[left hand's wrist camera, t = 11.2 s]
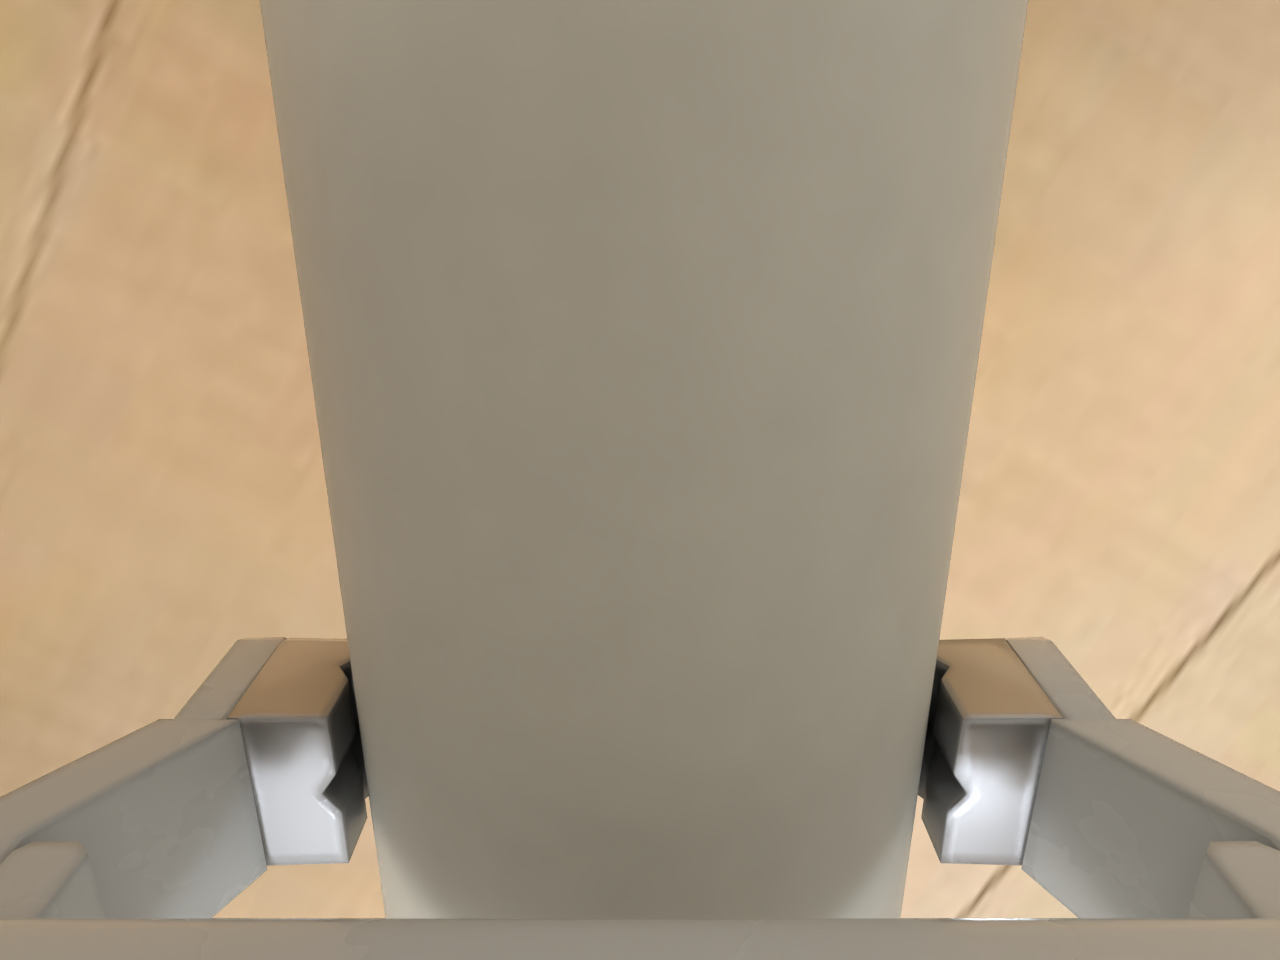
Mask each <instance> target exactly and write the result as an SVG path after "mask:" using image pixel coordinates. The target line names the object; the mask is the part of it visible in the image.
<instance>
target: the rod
mask: <svg viewBox="0 0 1280 960" xmlns="http://www.w3.org/2000/svg"><path fill="white" fill-rule="evenodd" d="M260 5H261V12H262V19H263V27H264V34H265V41H266V48H267V56H268V63H269V70H270V78H271V85H272V92H273V100H274V107H275V114H276V121H277V129H278V136H279V143H280V151H281V158H282V165H283V172H284V180H285V187H286V194H287V202H288V209H289V216H290V223H291V231H292V238H293V245H294V253H295V260H296V267H297V275H298V282H299V289H300V296H301V304H302V311H303V318H304V326H305V333H306V340H307V347H308V355H309V362H310V369H311V377H312V384H313V391H314V399H315V406H316V413H317V420H318V428H319V435H320V442H321V450H322V457H323V464H324V471H325V479H326V486H327V493H328V501H329V508H330V515H331V523H332V530H333V537H334V544H335V552H336V559H337V566H338V574H339V581H340V588H341V595H342V603H343V610H344V617H345V625H346V632H347V639H348V646H349V654H350V661H351V668H352V676H353V683H354V690H355V698H356V705H357V712H358V719H359V727H360V734H361V741H362V749H363V756H364V763H365V770H366V778H367V785H368V792H369V800H370V807H371V814H372V822H373V829H374V836H375V843H376V851H377V858H378V865H379V873H380V880H381V887H382V894H383V902H384V909H385V916H386V918H632V919H633V918H634V919H816V918H817V919H818V918H900V917H901V910H902V903H903V895H904V888H905V881H906V874H907V867H908V860H909V852H910V845H911V838H912V831H913V824H914V817H915V809H916V802H917V795H918V788H919V781H920V773H921V766H922V759H923V752H924V745H925V738H926V730H927V723H928V716H929V709H930V702H931V695H932V687H933V680H934V673H935V666H936V659H937V652H938V644H939V637H940V630H941V623H942V616H943V609H944V601H945V594H946V587H947V580H948V573H949V565H950V558H951V551H952V544H953V537H954V530H955V522H956V515H957V508H958V501H959V494H960V487H961V479H962V472H963V465H964V458H965V451H966V444H967V436H968V429H969V422H970V415H971V408H972V401H973V393H974V386H975V379H976V372H977V365H978V358H979V350H980V343H981V336H982V329H983V322H984V314H985V307H986V300H987V293H988V286H989V279H990V271H991V264H992V257H993V250H994V243H995V236H996V228H997V221H998V214H999V207H1000V200H1001V193H1002V185H1003V178H1004V171H1005V164H1006V157H1007V150H1008V142H1009V135H1010V128H1011V121H1012V114H1013V106H1014V99H1015V92H1016V85H1017V78H1018V71H1019V63H1020V56H1021V49H1022V42H1023V35H1024V28H1025V20H1026V13H1027V6H1028V0H260Z"/></svg>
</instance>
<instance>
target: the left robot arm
mask: <svg viewBox="0 0 1280 960" xmlns="http://www.w3.org/2000/svg"><path fill="white" fill-rule="evenodd" d="M918 795H919V796H920V797H922V798H923V799H924V802H923V810H922V820H923V822H924V825H925V827H926V829H927V832H928V834H929V836H930V839H931V841H932V844H933V846H934V848H935V851H936V853H937V855H938V858H939V860H940V862H941V863H958V864H994V865H1022V870H1023V871H1025V872H1026V873H1027V874H1028V875H1029V876H1030V877H1032V878H1033V879H1034V880H1035V881H1036V882H1037V883H1039V884H1040V885H1041V886H1042V887H1043V888H1044V889H1046V890H1047V891H1048V892H1049V893H1050V894H1051V895H1052V896H1054V897H1055V898H1056V899H1057V900H1058V901H1059V902H1061V903H1062V904H1063V905H1064V906H1065V907H1066V908H1068V909H1069V910H1070V911H1071V912H1072V913H1073V914H1075V915H1076V916H1077V917H1078V918H818V919H817V918H816V919H634V918H633V919H632V918H212V917H213V916H214V915H216V914H217V913H218V912H219V911H220V910H221V909H222V908H224V907H225V906H226V905H227V904H228V903H229V902H231V901H232V900H233V899H234V898H235V897H236V896H237V895H239V894H240V893H241V892H242V891H243V890H244V889H246V888H247V887H248V886H249V885H250V884H251V883H252V882H254V881H255V880H256V879H257V878H258V877H259V876H261V875H262V874H263V873H264V872H265V871H266V870H267V865H294V864H329V863H349V861H350V858H351V856H352V853H353V851H354V848H355V846H356V843H357V841H358V839H359V836H360V834H361V831H362V829H363V826H364V824H365V821H366V819H367V813H366V805H365V798H367V797H368V796H369V792H368V785H367V778H366V770H365V763H364V756H363V749H362V741H361V734H360V727H359V719H358V712H357V705H356V698H355V690H354V683H353V676H352V668H351V661H350V654H349V646H348V639H317V638H289V639H287V638H285V637H272V638H245V639H241V640H238V641H237V642H236V643H235V644H234V645H233V646H232V647H231V649H230V650H229V651H228V652H227V654H226V655H225V656H224V657H223V659H222V660H221V661H220V662H219V664H218V665H217V666H216V667H215V668H214V670H213V671H212V672H211V673H210V675H209V676H208V677H207V678H206V680H205V681H204V682H203V683H202V685H201V686H200V687H199V688H198V690H197V691H196V692H195V693H194V694H193V696H192V697H191V698H190V699H189V701H188V702H187V703H186V704H185V706H184V707H183V708H182V709H181V711H180V712H179V713H178V714H177V716H176V717H175V718H174V719H159V720H157V721H155V722H153V723H151V724H149V725H147V726H145V727H143V728H141V729H139V730H137V731H134V732H132V733H130V734H128V735H126V736H124V737H122V738H120V739H118V740H116V741H114V742H112V743H110V744H108V745H106V746H104V747H102V748H100V749H98V750H96V751H94V752H92V753H90V754H87V755H85V756H83V757H81V758H79V759H77V760H75V761H73V762H71V763H69V764H67V765H65V766H63V767H61V768H59V769H57V770H55V771H53V772H51V773H49V774H47V775H45V776H43V777H41V778H38V779H36V780H34V781H32V782H30V783H28V784H26V785H24V786H22V787H20V788H18V789H16V790H14V791H12V792H10V793H8V794H6V795H4V796H2V797H0V960H1280V792H1279V791H1277V790H1275V789H1273V788H1271V787H1269V786H1267V785H1265V784H1263V783H1260V782H1258V781H1256V780H1254V779H1252V778H1250V777H1248V776H1246V775H1244V774H1242V773H1240V772H1238V771H1236V770H1234V769H1232V768H1230V767H1228V766H1226V765H1223V764H1221V763H1219V762H1217V761H1215V760H1213V759H1211V758H1209V757H1207V756H1205V755H1203V754H1201V753H1199V752H1197V751H1195V750H1193V749H1191V748H1189V747H1186V746H1184V745H1182V744H1180V743H1178V742H1176V741H1174V740H1172V739H1170V738H1168V737H1166V736H1164V735H1162V734H1160V733H1158V732H1156V731H1154V730H1152V729H1149V728H1147V727H1145V726H1143V725H1141V724H1139V723H1137V722H1135V721H1133V720H1131V719H1116V718H1115V717H1114V716H1113V715H1112V713H1111V712H1110V711H1109V710H1108V709H1107V707H1106V706H1105V705H1104V704H1103V702H1102V701H1101V700H1100V699H1099V698H1098V696H1097V695H1096V694H1095V693H1094V692H1093V690H1092V689H1091V688H1090V687H1089V686H1088V684H1087V683H1086V682H1085V681H1084V680H1083V678H1082V677H1081V676H1080V675H1079V673H1078V672H1077V671H1076V670H1075V669H1074V667H1073V666H1072V665H1071V664H1070V663H1069V661H1068V660H1067V659H1066V658H1065V657H1064V655H1063V654H1062V653H1061V652H1060V650H1059V649H1058V648H1057V647H1056V646H1055V644H1054V643H1053V642H1052V641H1050V640H1048V639H1046V638H1044V637H1029V638H1001V639H961V640H939V644H938V652H937V659H936V666H935V673H934V680H933V687H932V695H931V702H930V709H929V716H928V723H927V730H926V738H925V745H924V752H923V759H922V766H921V773H920V781H919V788H918Z"/></svg>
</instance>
